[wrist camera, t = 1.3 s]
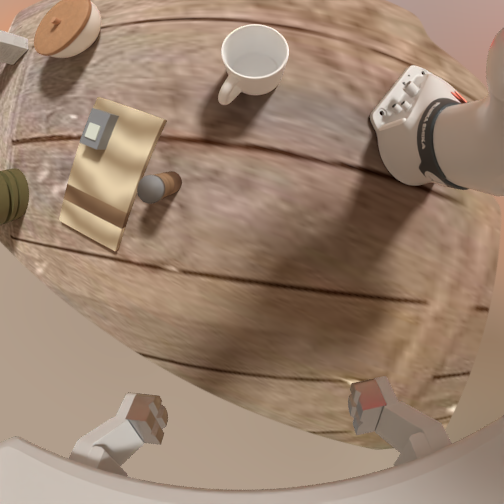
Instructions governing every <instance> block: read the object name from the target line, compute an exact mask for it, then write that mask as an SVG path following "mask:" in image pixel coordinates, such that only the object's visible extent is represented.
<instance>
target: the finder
mask: <svg viewBox="0 0 504 504" xmlns="http://www.w3.org/2000/svg"><path fill="white" fill-rule="evenodd" d="M118 117H119V116H117V115H114V114H111V113H109V112H106V111H103V110H99V109H94V108H92V111H91V113H90V115H89V118H88V121H87V123H86V126H85V128H84V131H83V134H82V137H81V140H80V143H82V144H84V145H87V146H89V147H92V148H94V149H96V150H106V148H107V145H108V142H109V140H110V137H111V135H112V132H113V130H114V127H115V125H116V122H117V120H118Z"/></svg>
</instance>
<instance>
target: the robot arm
mask: <svg viewBox="0 0 504 504" xmlns="http://www.w3.org/2000/svg"><path fill="white" fill-rule="evenodd" d="M421 72H422V73H423V75H422V73H421ZM486 79H487V85H488V90H489V94H488V96H487V97H485V98H484V99H481V100H477V101H473V102H467V101H466V100H465V99H464V98H463V97H462V96H461V95H460V94H459V93H458V92H457V91H456V90H455V89H454V88H453V87H452V86H451V85H450V84H448V83H447V82H446V81H444V80H443V79H441V78H440V77H438V76H435V75H433V74H432V73H430V72H429V71H427V70H425V69H423V68H421V67H418V66H409V67H408V68H407V69H406V70H405V71H404V72H403V74H402V75H401V76H400V77H399V79H398V80H397V81H396V82H395V84H394V85H393V86H392V87H391V89H390V90H389V91H388V92H387V94H386V95H385V96H384V97H383V99H382V100H381V101H380V102H379V104H378V105H377V106H376V107H375V109H374V110H373V111H372V112H371V114H370V121H371V123H372V125H373V127H374V129H375V131H376V133H377V138H378V147H379V152H380V155H381V158H382V160H383V163H384V164H385V166H386V168H387V169H388V171H389V172H390V173H391V174H392V175H393V176H394V177H395V178H396V179H397V180H399V181H401V182H402V183H405V184H407V185H412V186H418V185H423V184H426V183H435V184H438V185H441V186H444V187H451V188H456V189H461V190H466V189H473V190H476V191H480V192H484V193H488V194H491V195H494V196H504V28H502V29H501V30H500V31H499V32H498V33H497V35H496V36H495V38H494V39H493V42H492V44H491V46H490V49H489V53H488V57H487V66H486ZM380 111H381V112H382V115H380ZM350 391H351V394H350V395H349V399H348V407H349V412H350V416H352V417H353V418H354V420H353V426H354V429H355V433H356V435H359V434H364V433H369V432H373V431H375V432H376V433H377V434H378V435H379V436H380V437H382V438H383V439H384V440H385V441H387V442H388V443H389V444H390V445H391V446H393V447H394V448H395V449H396V450H398V451H399V452H400V453H401V454H400V455H399V457H398V459H397V460H396V462H395V463H394V467H391V468H387V469H384V470H381V471H377V472H374V473H370V474H366V475H362V476H358V477H353V478H349V479H344V480H339V481H334V482H328V483H322V484H316V485H308V486H300V487H292V488H279V489H261V490H223V489H204V488H192V487H184V486H175V485H168V484H162V483H155V482H150V481H145V480H140V479H135V478H131V477H127V476H128V475H127V473H126V472H125V471H124V470H123V469H122V468H121V467H120V466H121V465H122V464H123V463H124V462H125V461H126V460H127V459H128V458H130V457H131V455H133V454H134V453H135V452H136V451H137V450H138V449H139V448H140V447H141V446H142V445H143V444H144V443H151V444H161V442H162V439H163V435H164V433H163V430H162V429H163V428H164V427H166V425H167V421H168V414H167V410H166V408H165V407H164V406H163V405H161V402H162V400H161V398H160V396H156V395H147V394H137V393H127V394H126V395H125V397H124V399H123V401H122V403H121V406H120V408H119V410H118V412H117V414H116V416H115V417H112V418H110V419H109V420H107V421H106V422H105V423H103V424H101V425H100V426H98V427H97V428H95V429H94V430H92V431H91V432H90V433H88V434H86V435H85V436H83V437H82V438H80V439H78V441H77V443H76V445H75V447H74V449H73V451H72V453H71V455H70V457H69V459H68V458H65V457H63V456H60V455H58V454H55V453H53V452H50V451H48V450H46V449H43V448H41V447H39V446H37V445H35V444H33V443H31V442H29V441H27V440H25V439H23V438H21V437H17V436H15V437H12V438H9V439H7V440H5V441H3V442H1V443H0V504H504V415H503V416H501V417H500V418H498V419H497V420H495V421H494V422H492V423H490V424H488V425H487V426H485V427H483V428H482V429H480V430H478V431H476V432H475V433H472V434H471V435H469V436H467V437H465V438H463V439H461V440H459V441H457V442H455V443H453V444H452V443H451V441H450V439H449V437H448V435H447V433H446V431H445V429H444V427H443V425H442V423H440V422H438V421H436V420H435V419H433V418H431V417H429V416H427V415H425V414H424V413H422V412H420V411H418V410H416V409H415V408H413V407H411V406H409V405H408V404H406V403H404V402H402V401H401V402H399V401H398V399H397V397H396V395H395V393H394V391H393V389H392V387H391V385H390V383H389V381H388V379H387V377H386V376H383V377H379V378H374V379H369V380H365V381H360V382H356V383H352V384H351V387H350Z"/></svg>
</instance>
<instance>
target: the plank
mask: <svg viewBox="0 0 504 504" xmlns="http://www.w3.org/2000/svg"><path fill="white" fill-rule="evenodd" d="M93 108H94V109H99V110H103V111H106V112H109V113H111V114H114V115H117V116H119V117H118V120H117V122H116V125H115V127H114V130H113V132H112V135H111V137H110V140H109V142H108V145H107V148H106V150H96V149H94V148H92V147H89V146H87V145H84V144H82V143H80V144H79V147H78V150H77V153H76V156H75V159H74V163H73V166H72V169H71V173H70V176H69V180H68V184H67V188H66V192H65V196H64V200H63V204H62V209H61V213H60V218H59V221H61V222H63V223H64V224H66V225H68V226H70V227H71V228H73V229H75V230H77V231H79V232H80V233H82V234H84V235H86V236H88V237H89V238H91V239H93V240H95V241H97V242H98V243H100V244H102V245H104V246H106V247H108V248H110V249H112V250H113V251H117V250H118V249H119V247H120V243H121V240H122V236H123V233H124V230H125V227H126V224H127V221H128V217H129V214H130V211H131V208H132V206H133V203H134V200H135V197H136V194H137V186H138V183H139V181H140V180H141V179H142V178H143V175H144V173H145V170H146V168H147V165H148V163H149V160H150V158H151V156H152V153H153V151H154V148H155V146H156V144H157V141H158V139H159V137H160V135H161V132H162V130H163V128H164V126H165V124H166V122H167V120H164V119H161V118H159V117H156V116H153V115H151V114H148V113H145V112H142V111H140V110H137V109H134V108H131V107H128V106H125V105H122V104H119V103H116V102H113V101H110V100H107V99H104V98H100V97H98V98H97V100H96V102H95V105H94V107H93Z"/></svg>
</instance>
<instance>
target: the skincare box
mask: <svg viewBox="0 0 504 504" xmlns="http://www.w3.org/2000/svg"><path fill="white" fill-rule="evenodd" d="M27 50H28V39H27V38H24V37H21V36H18V35H15V34H12V33H8V32H5V31H1V30H0V62H2V63H7V64H12V65H13V64H14V63H15V62H16V61H17V60H18V59H19V58H20V57H21V56H22V55H23V54H24V53H25V52H26V51H27Z"/></svg>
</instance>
